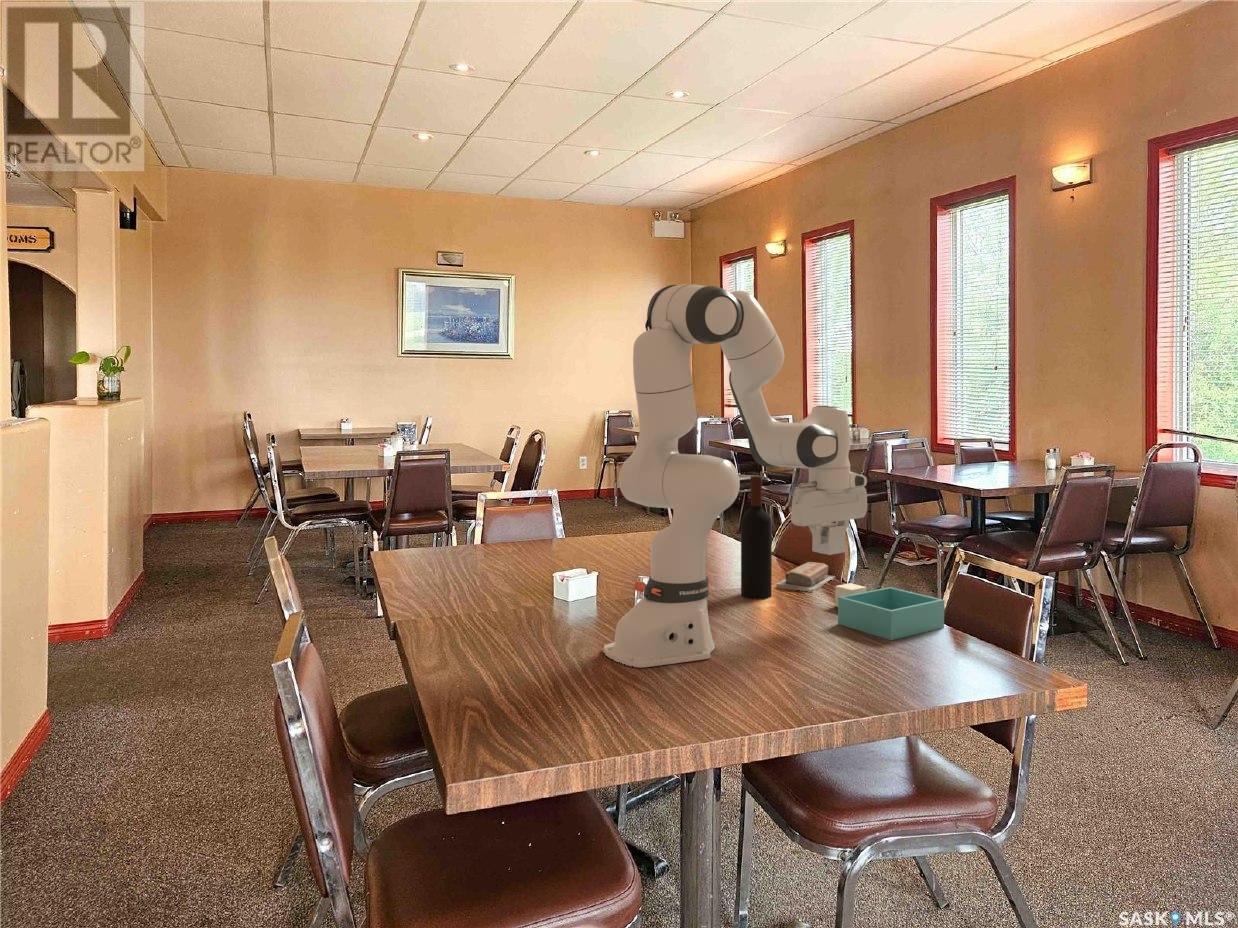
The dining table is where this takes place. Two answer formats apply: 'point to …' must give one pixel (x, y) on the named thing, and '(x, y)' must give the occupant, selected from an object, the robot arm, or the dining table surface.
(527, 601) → the dining table surface
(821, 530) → the steel block
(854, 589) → the cream box
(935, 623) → the box
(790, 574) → the packaged product
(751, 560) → the wine bottle
